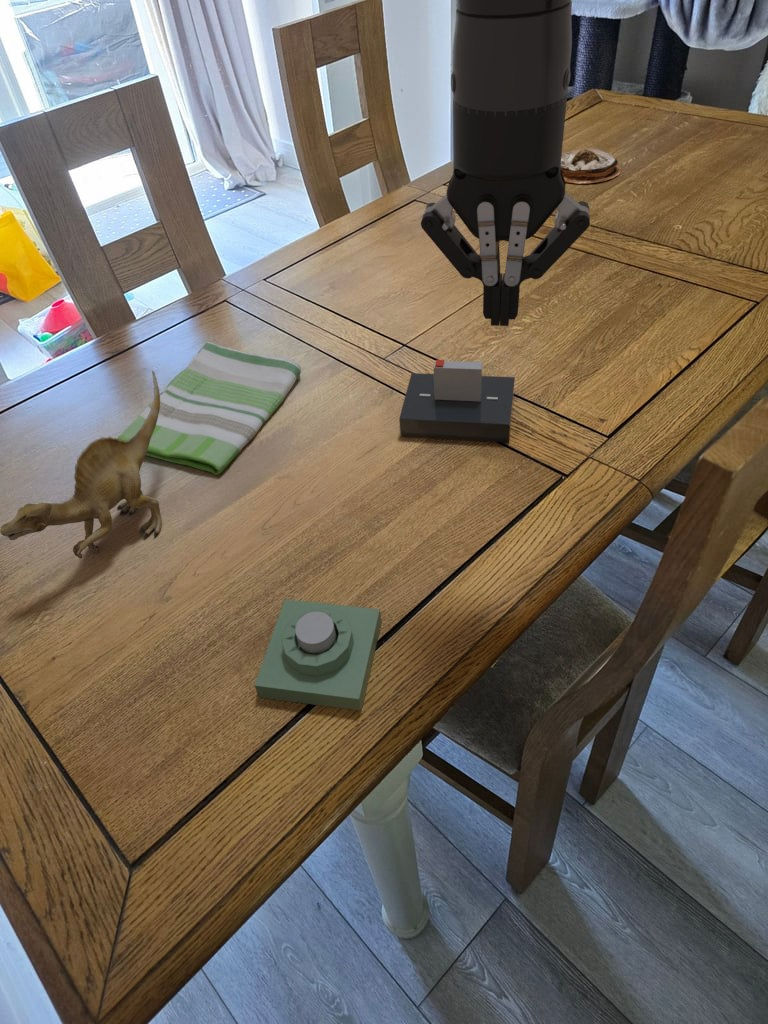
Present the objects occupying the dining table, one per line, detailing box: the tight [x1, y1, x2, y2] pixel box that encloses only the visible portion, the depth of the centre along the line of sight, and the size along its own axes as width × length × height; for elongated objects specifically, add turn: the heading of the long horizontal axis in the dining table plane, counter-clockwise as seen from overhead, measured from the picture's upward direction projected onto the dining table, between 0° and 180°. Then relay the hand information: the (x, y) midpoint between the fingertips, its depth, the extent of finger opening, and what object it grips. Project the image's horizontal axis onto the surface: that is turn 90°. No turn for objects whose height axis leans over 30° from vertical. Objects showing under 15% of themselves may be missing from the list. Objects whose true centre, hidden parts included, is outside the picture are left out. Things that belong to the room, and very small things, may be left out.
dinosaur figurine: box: [0, 370, 163, 559], centre depth 79 cm, size 8×26×13 cm, turn 155°
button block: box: [254, 598, 383, 712], centre depth 67 cm, size 10×10×4 cm
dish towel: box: [117, 341, 302, 476], centre depth 97 cm, size 17×23×4 cm
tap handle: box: [433, 359, 484, 402], centre depth 89 cm, size 6×2×5 cm, turn 80°
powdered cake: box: [560, 147, 622, 185], centre depth 145 cm, size 15×15×4 cm
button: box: [295, 612, 336, 654], centre depth 65 cm, size 4×4×2 cm
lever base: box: [398, 372, 516, 444], centre depth 92 cm, size 14×10×3 cm
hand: (499, 320), depth 58 cm, fingers closed
